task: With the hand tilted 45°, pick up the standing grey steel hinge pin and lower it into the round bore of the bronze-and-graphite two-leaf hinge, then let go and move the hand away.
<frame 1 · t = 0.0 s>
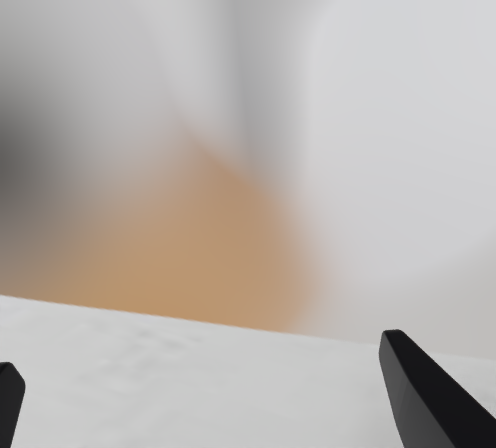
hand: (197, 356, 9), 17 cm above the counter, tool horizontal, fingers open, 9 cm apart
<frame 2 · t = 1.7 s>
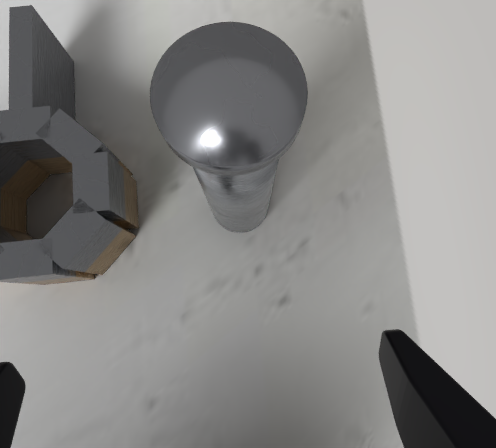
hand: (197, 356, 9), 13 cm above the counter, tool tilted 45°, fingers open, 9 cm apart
hinge pin: (240, 204, 24), on the counter
hinge: (67, 211, 24), on the counter
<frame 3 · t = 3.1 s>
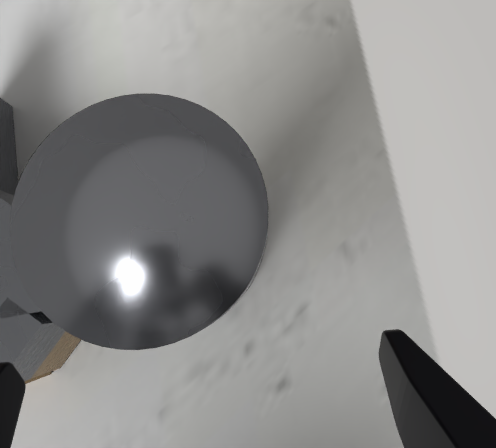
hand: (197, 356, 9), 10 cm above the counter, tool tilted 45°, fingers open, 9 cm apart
hinge pin: (220, 267, 20), on the counter
hinge: (14, 292, 20), on the counter
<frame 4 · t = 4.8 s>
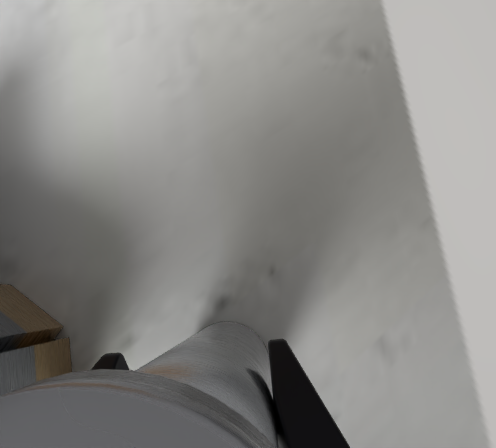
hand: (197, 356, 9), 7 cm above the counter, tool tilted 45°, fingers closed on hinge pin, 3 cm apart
hinge pin: (226, 366, 16), on the counter, touching gripper
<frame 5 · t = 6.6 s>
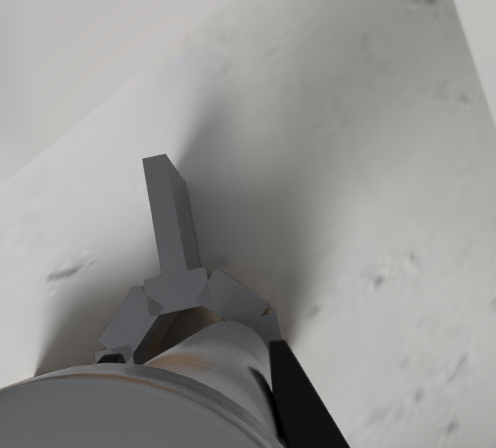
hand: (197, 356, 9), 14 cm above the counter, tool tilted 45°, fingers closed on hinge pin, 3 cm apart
hinge pin: (227, 365, 16), point 7 cm above the counter, touching gripper
hinge: (206, 350, 22), on the counter
when the fingers open (8 cm above the counter, at t = 8.3 s): hinge pin drops 1 cm, resting in hinge.
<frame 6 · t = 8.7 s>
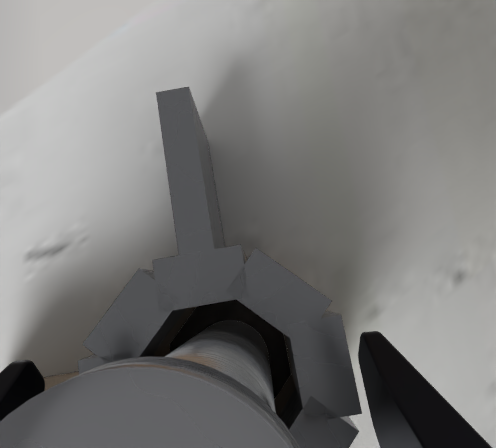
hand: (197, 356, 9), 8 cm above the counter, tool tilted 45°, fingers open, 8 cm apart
hinge pin: (229, 360, 17), resting in hinge
hinge: (229, 359, 17), on the counter
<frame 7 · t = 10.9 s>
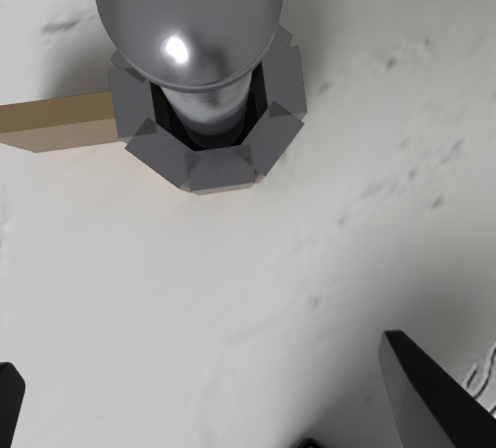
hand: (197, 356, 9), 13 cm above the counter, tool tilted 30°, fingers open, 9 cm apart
hinge pin: (213, 118, 22), resting in hinge
hinge: (213, 117, 22), on the counter
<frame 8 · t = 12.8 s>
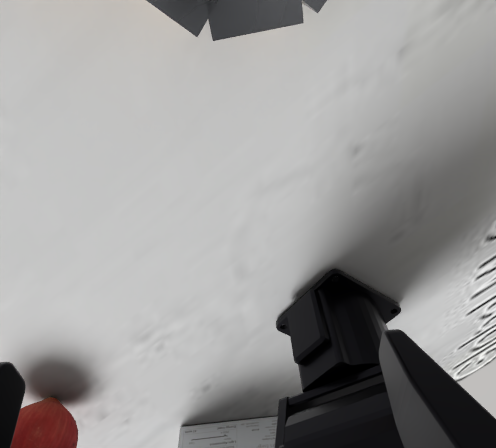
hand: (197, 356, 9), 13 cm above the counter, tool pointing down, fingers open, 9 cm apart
light bulb box: (240, 434, 37), on the counter
onion: (55, 397, 33), on the counter
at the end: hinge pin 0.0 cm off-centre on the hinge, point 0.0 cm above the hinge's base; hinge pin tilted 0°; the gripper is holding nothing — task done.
